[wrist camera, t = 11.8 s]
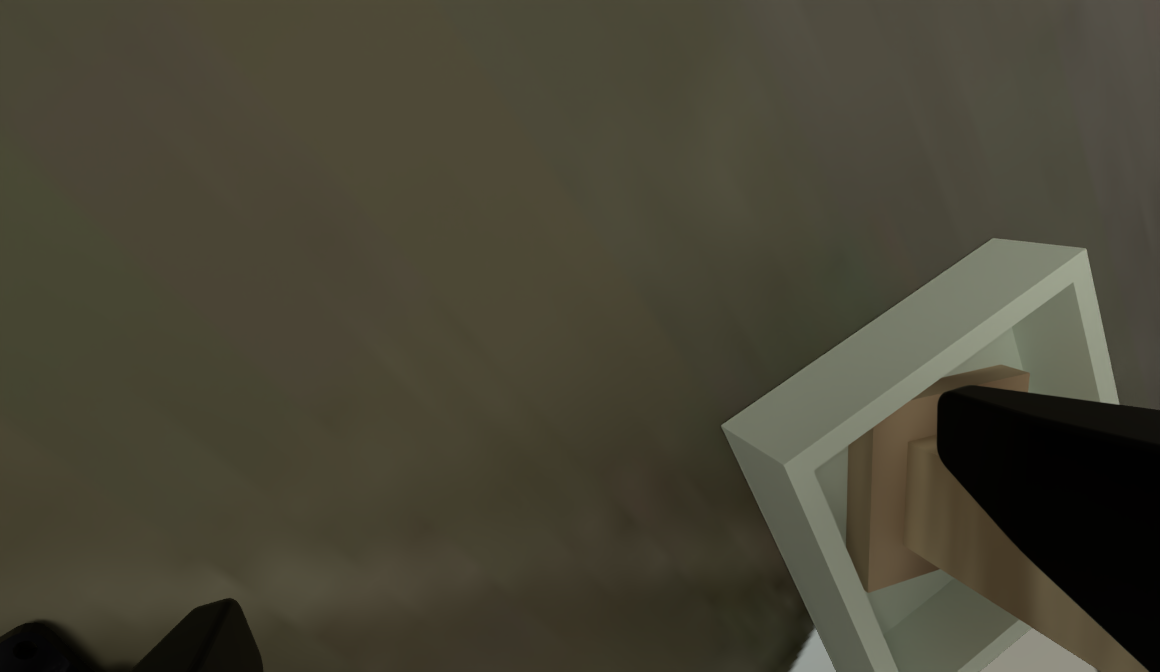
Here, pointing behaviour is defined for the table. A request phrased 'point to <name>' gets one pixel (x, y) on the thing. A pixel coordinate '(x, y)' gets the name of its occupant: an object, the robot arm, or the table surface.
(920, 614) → the box
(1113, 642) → the wooden block tower
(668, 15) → the table surface
